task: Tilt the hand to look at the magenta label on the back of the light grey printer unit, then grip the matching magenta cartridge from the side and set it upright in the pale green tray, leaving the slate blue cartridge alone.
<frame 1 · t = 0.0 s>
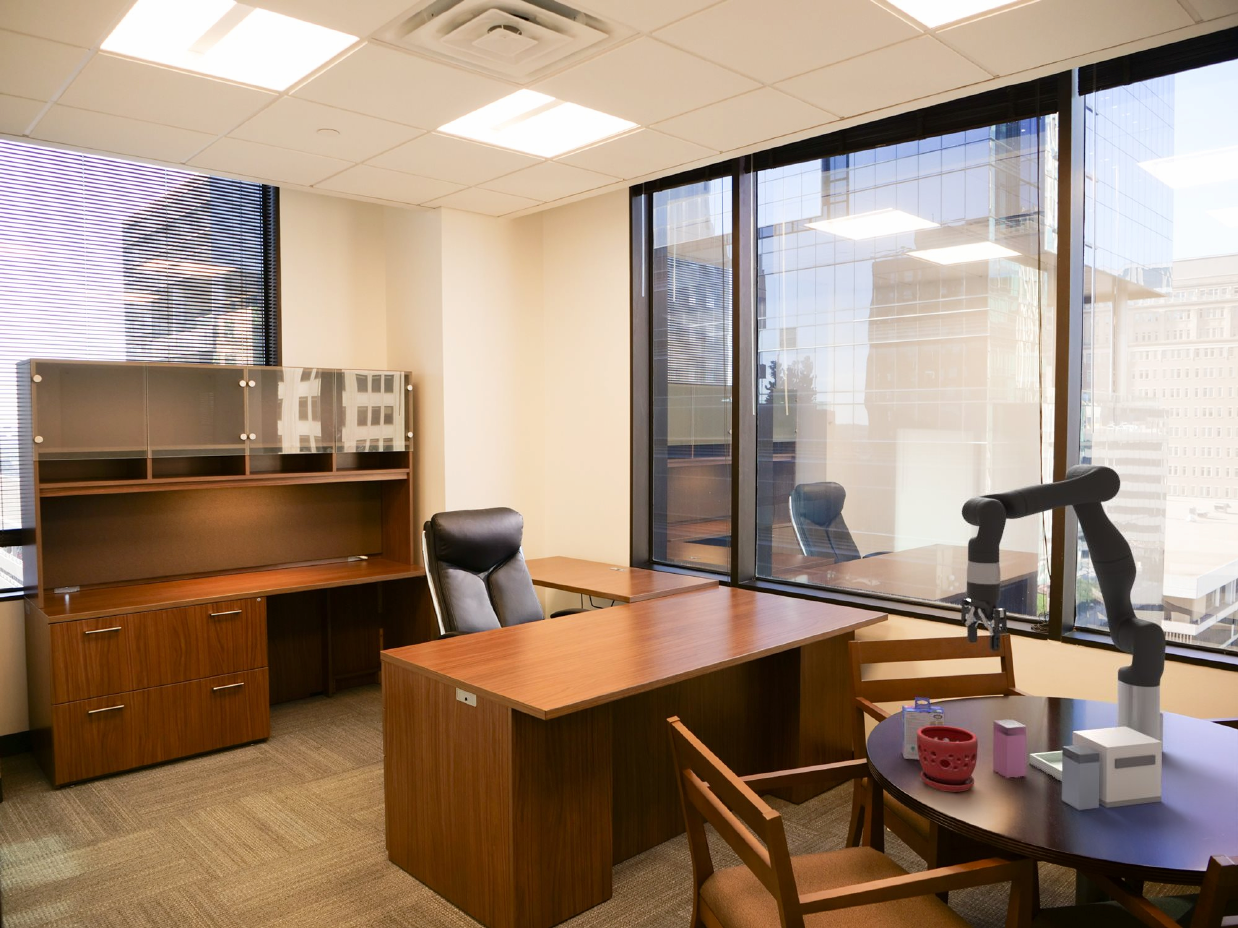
hand: (983, 646, 204), 29 cm above the table, tool pointing down, fingers open, 8 cm apart
printer unit: (1115, 794, 187), on the table
slate blue cartridge: (1080, 803, 183), on the table
magenta cartridge: (1009, 773, 200), on the table
ink cartridge box: (923, 757, 210), on the table
parts tray: (1066, 770, 201), on the table
plant pot: (946, 784, 194), on the table
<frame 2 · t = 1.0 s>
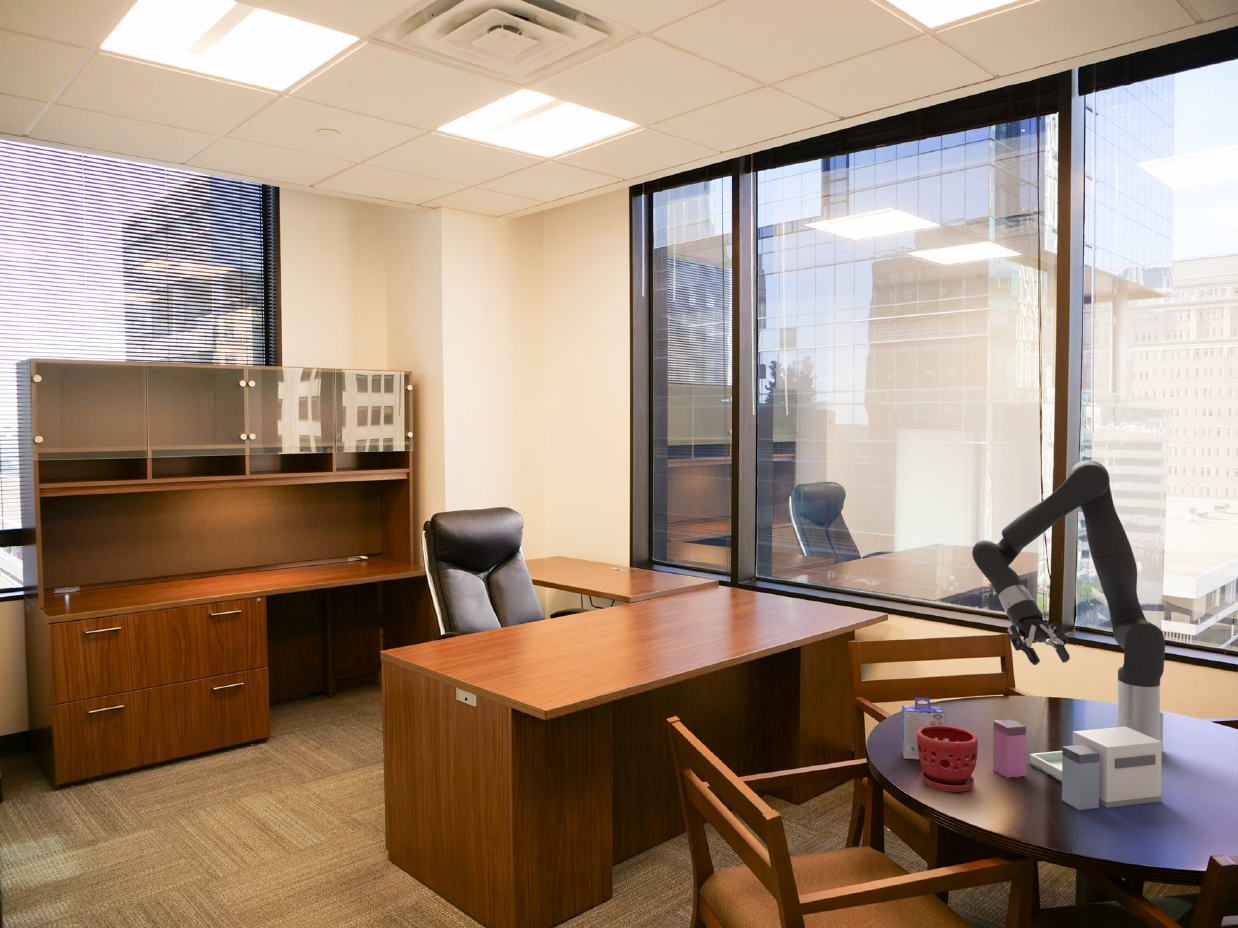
hand: (1051, 662, 206), 25 cm above the table, tool tilted 45°, fingers open, 8 cm apart
nothing on the table moved.
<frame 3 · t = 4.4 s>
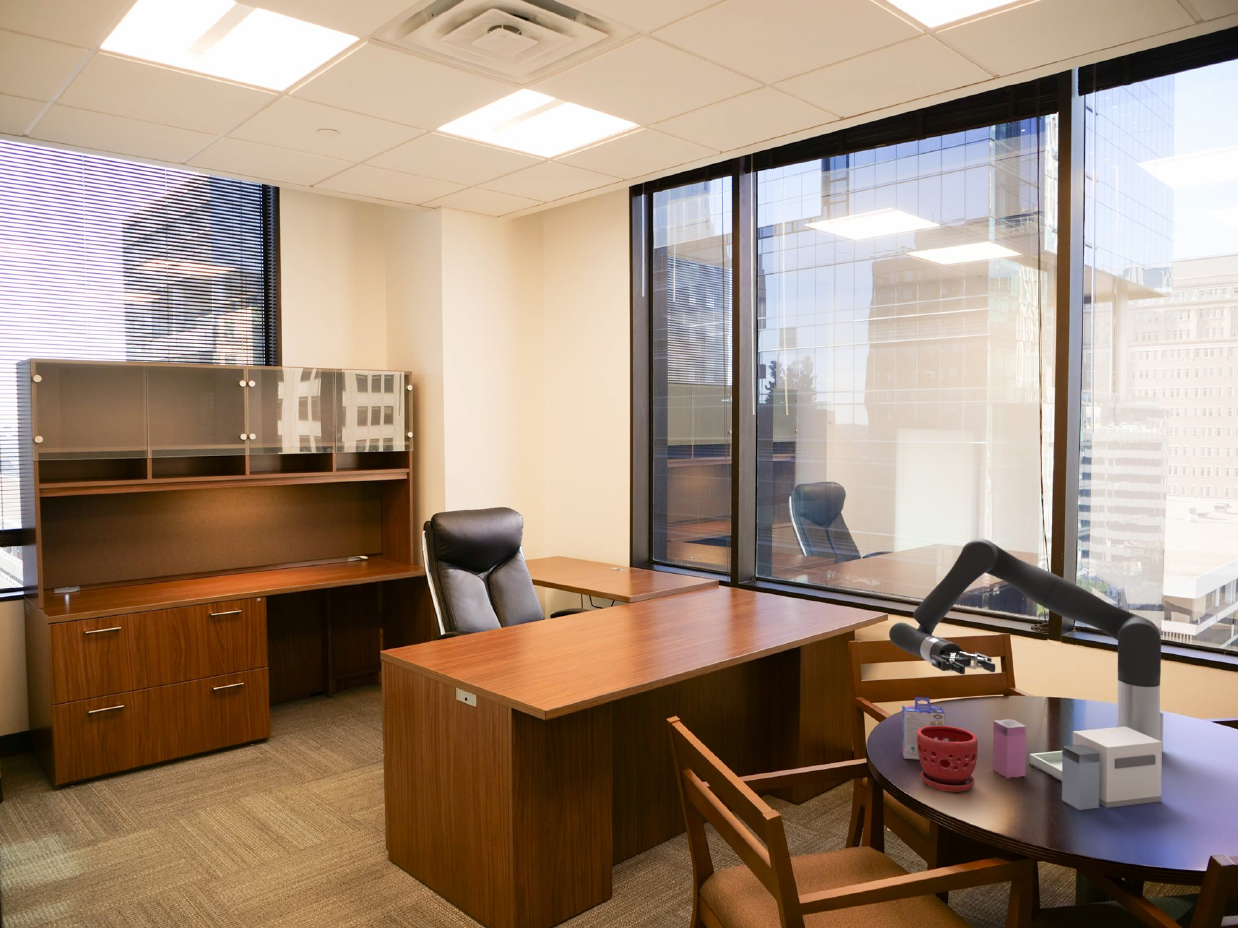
hand: (979, 669, 210), 22 cm above the table, tool horizontal, fingers open, 8 cm apart
nothing on the table moved.
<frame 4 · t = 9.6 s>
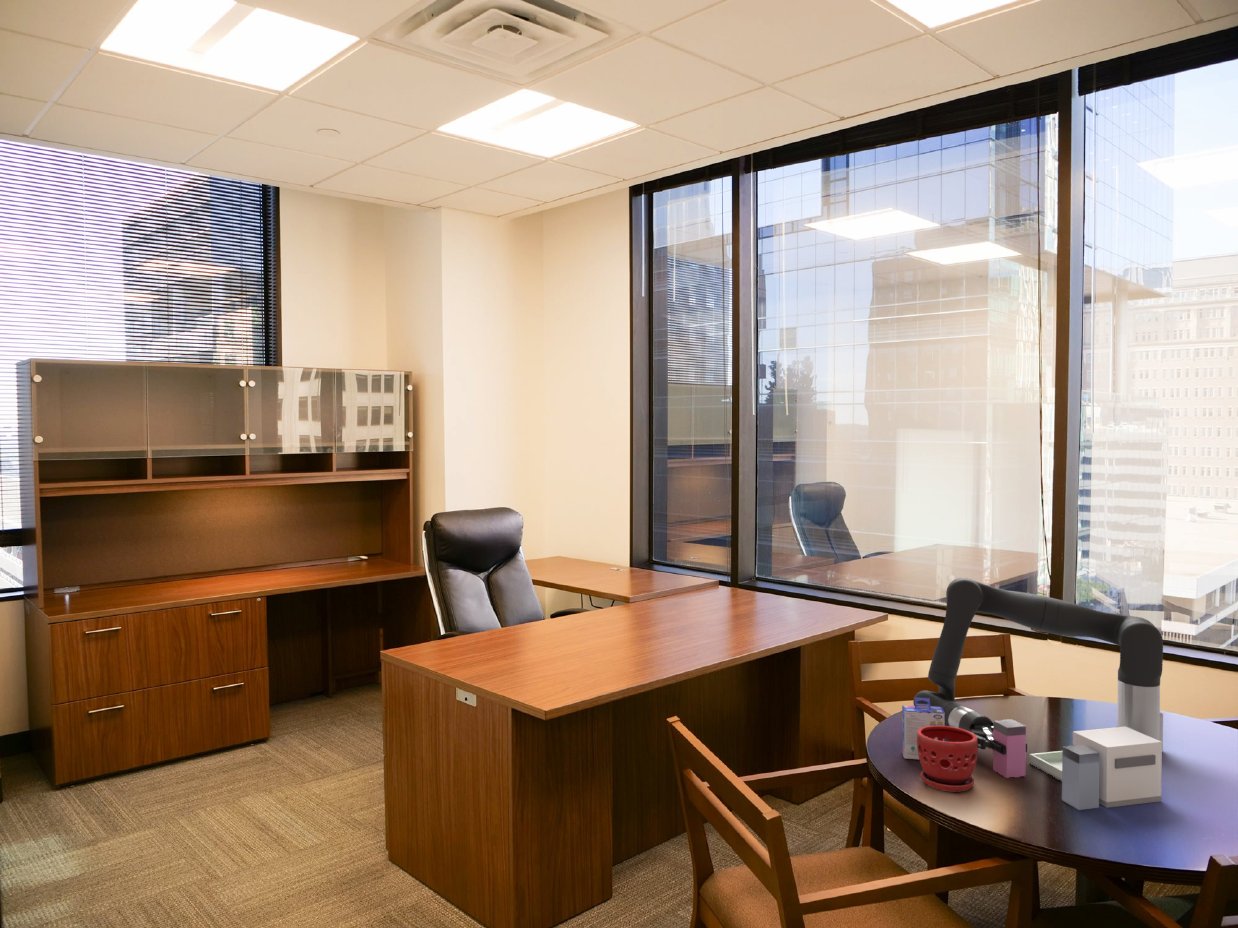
hand: (1015, 749, 197), 7 cm above the table, tool horizontal, fingers closed on magenta cartridge, 5 cm apart
magenta cartridge: (1009, 772, 200), on the table, touching gripper
everything else where it was.
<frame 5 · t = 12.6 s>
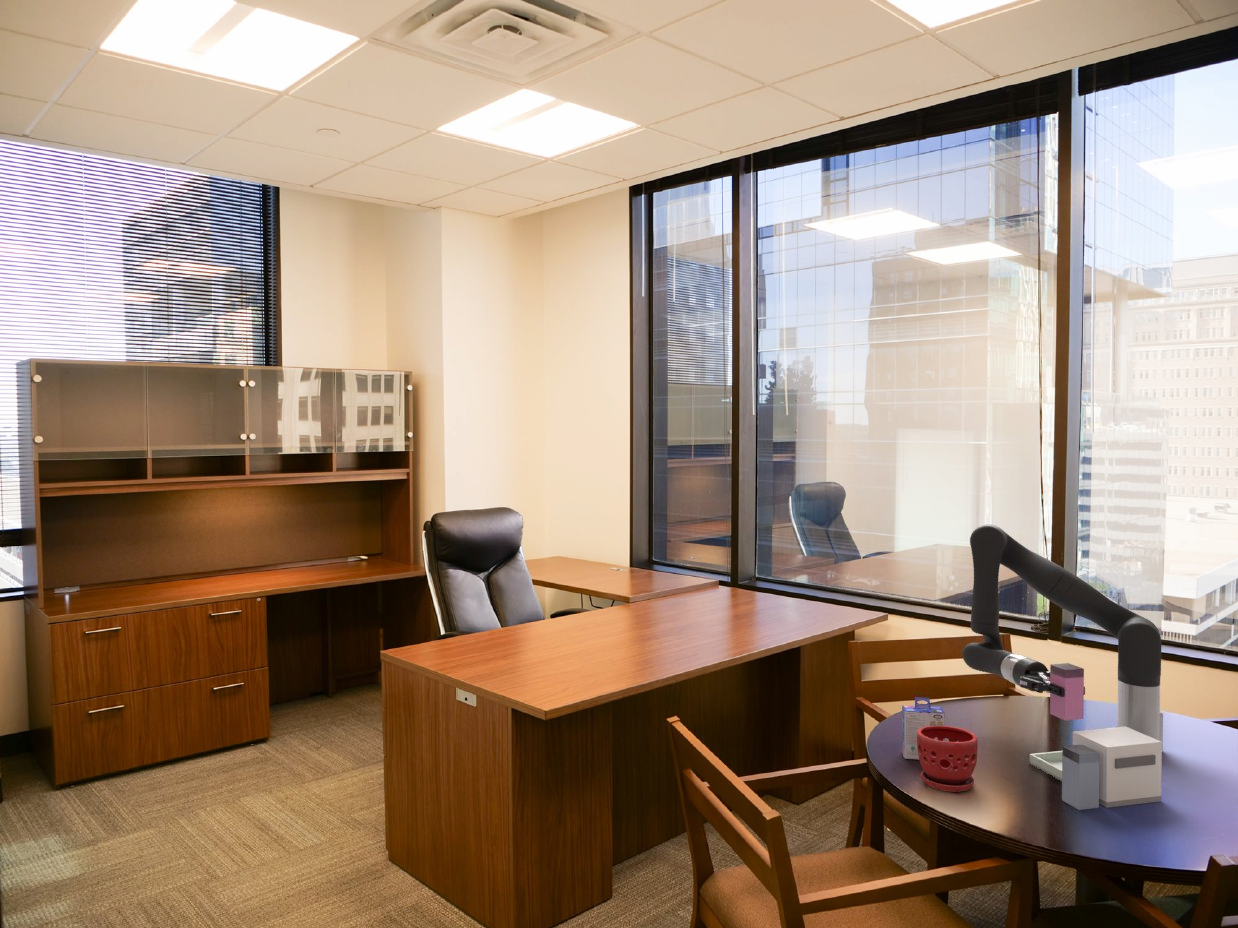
hand: (1073, 691, 198), 20 cm above the table, tool horizontal, fingers closed on magenta cartridge, 5 cm apart
magenta cartridge: (1066, 716, 200), point 13 cm above the table, touching gripper
everything else where it was.
when the fingers open (8 cm above the table, at t = 15.9 s): magenta cartridge stays where it is, resting on parts tray.
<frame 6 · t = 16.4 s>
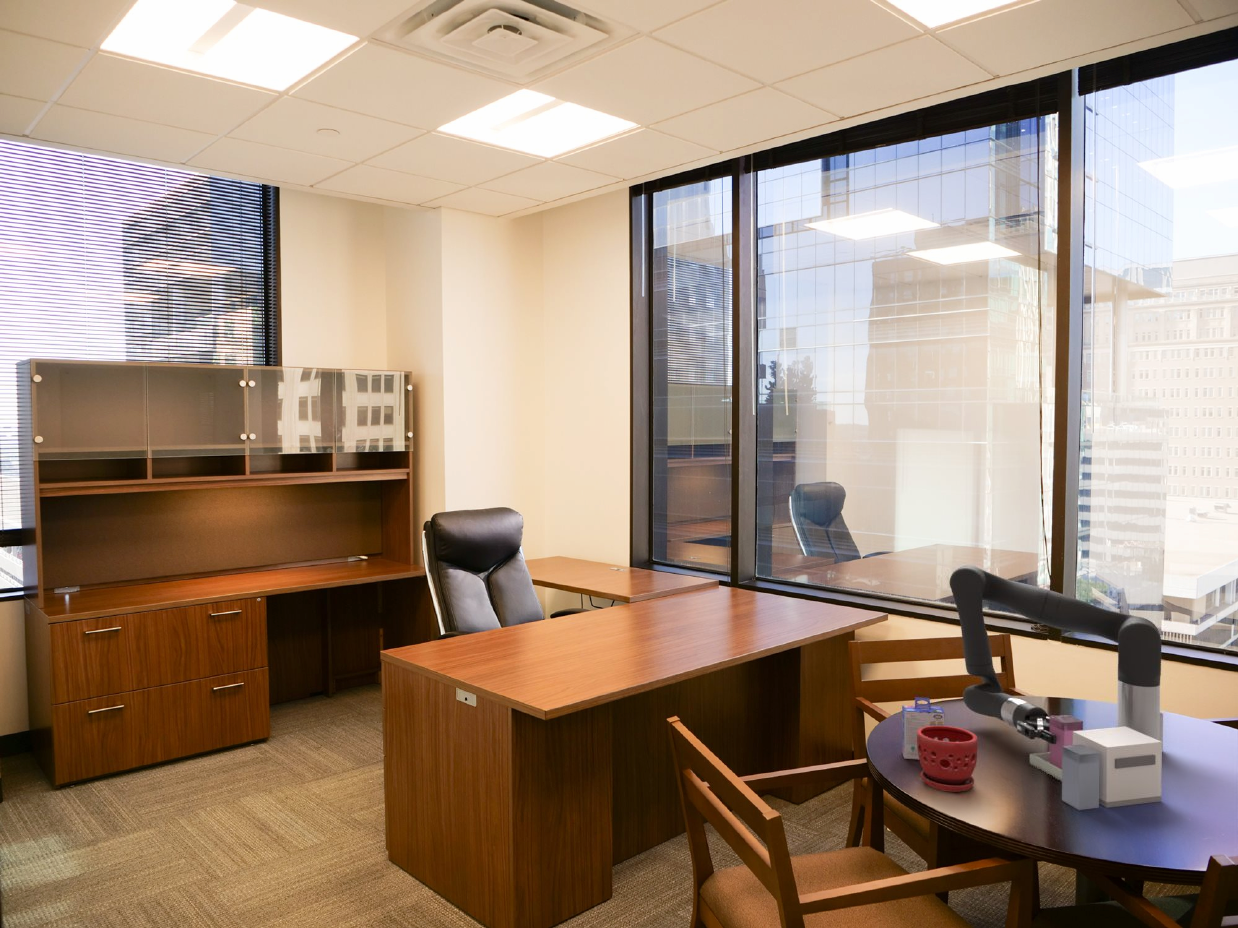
hand: (1070, 738, 199), 8 cm above the table, tool horizontal, fingers open, 8 cm apart
magenta cartridge: (1065, 768, 201), point 1 cm above the table, touching parts tray
everything else where it was.
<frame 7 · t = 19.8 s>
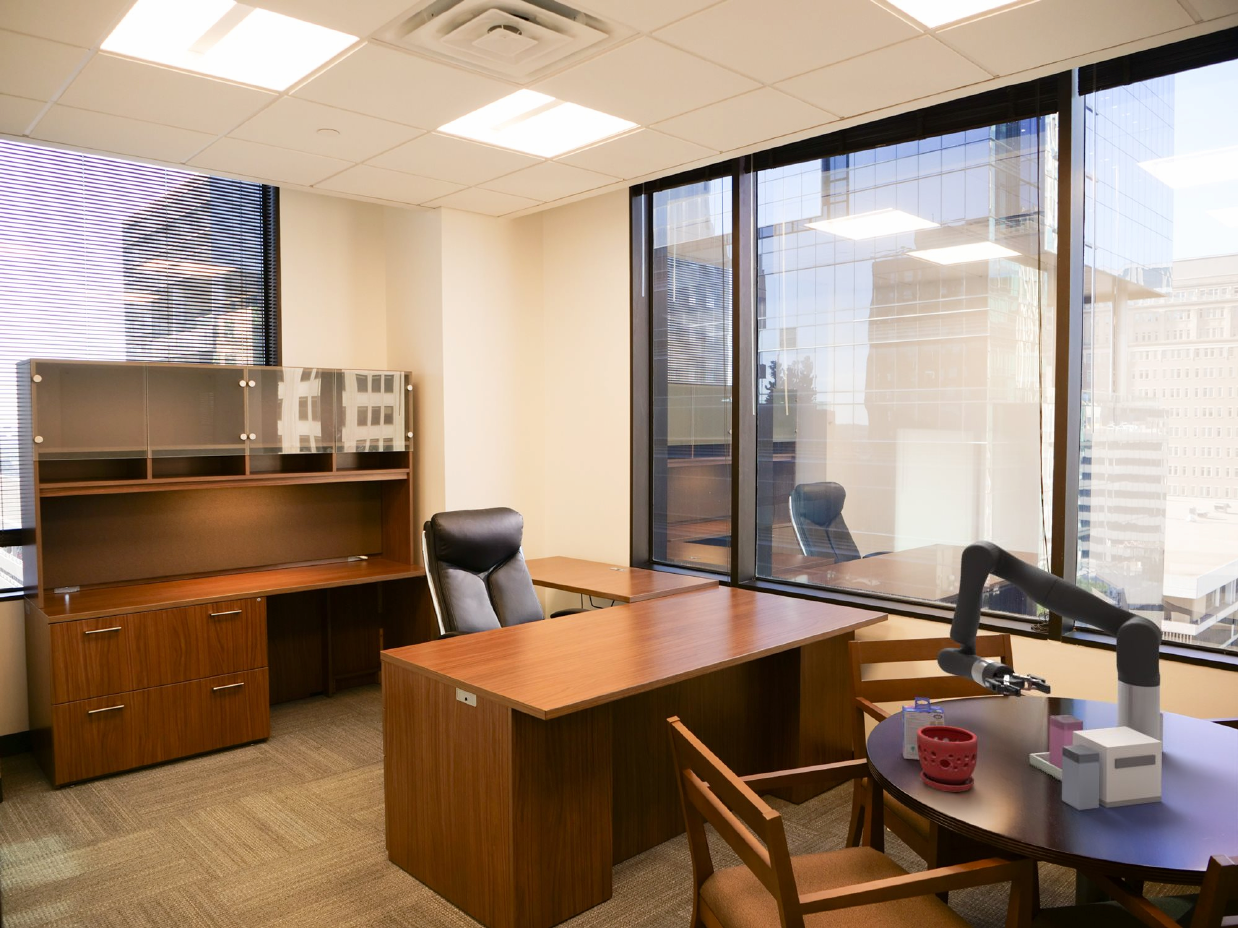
hand: (1034, 691, 211), 16 cm above the table, tool horizontal, fingers open, 8 cm apart
nothing on the table moved.
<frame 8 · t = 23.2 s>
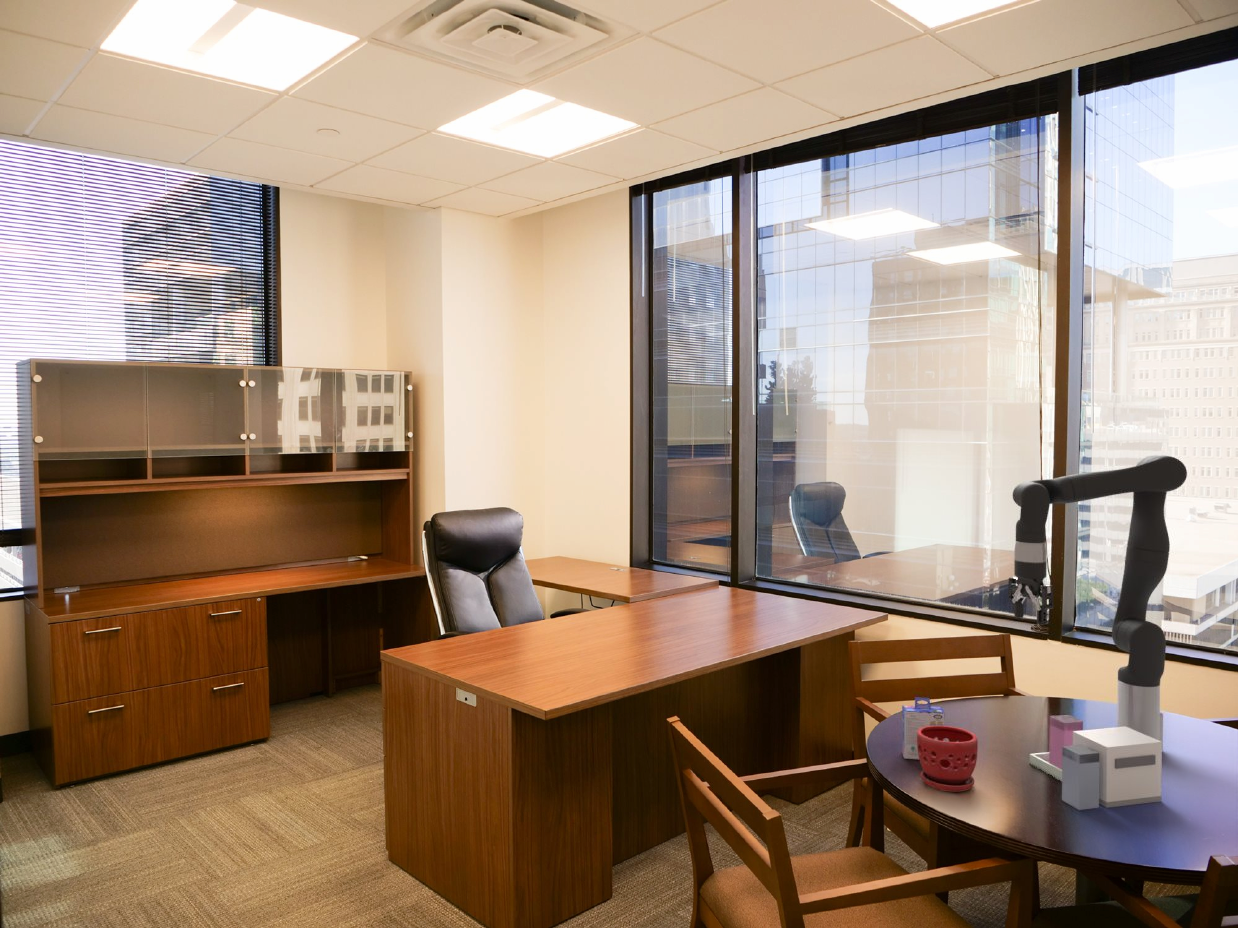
hand: (1029, 620, 218), 32 cm above the table, tool pointing down, fingers open, 8 cm apart
nothing on the table moved.
at the end: magenta cartridge 0.1 cm off-centre on the parts tray, point 0.6 cm above the parts tray's base; magenta cartridge tilted 0°; the gripper is holding nothing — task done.
